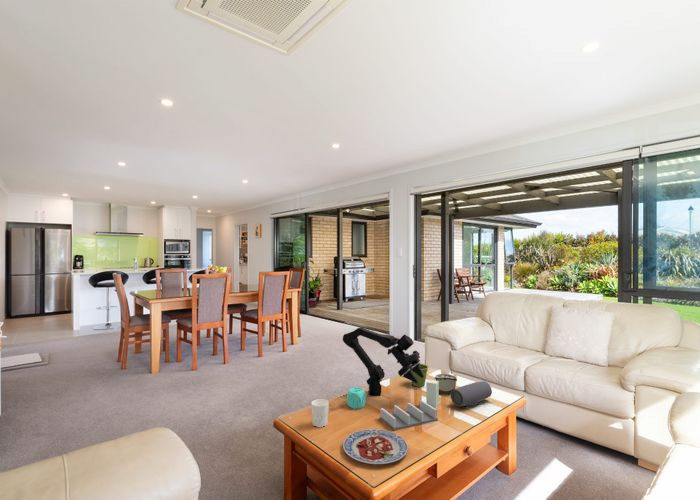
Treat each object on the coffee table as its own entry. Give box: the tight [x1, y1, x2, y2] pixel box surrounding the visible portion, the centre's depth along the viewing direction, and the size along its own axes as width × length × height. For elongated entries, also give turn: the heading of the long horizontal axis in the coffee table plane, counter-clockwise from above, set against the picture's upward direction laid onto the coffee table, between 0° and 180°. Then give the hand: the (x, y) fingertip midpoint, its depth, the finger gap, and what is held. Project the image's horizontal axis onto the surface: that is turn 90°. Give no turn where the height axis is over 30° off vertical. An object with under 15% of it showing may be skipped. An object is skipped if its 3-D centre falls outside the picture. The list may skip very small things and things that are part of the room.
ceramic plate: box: [342, 428, 409, 465], centre depth 142 cm, size 26×26×3 cm
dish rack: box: [379, 399, 439, 432], centre depth 169 cm, size 13×24×5 cm, turn 114°
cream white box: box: [425, 379, 440, 409], centre depth 183 cm, size 4×5×13 cm
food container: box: [434, 373, 458, 397], centre depth 201 cm, size 12×6×10 cm, turn 84°
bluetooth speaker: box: [450, 380, 493, 407], centre depth 187 cm, size 23×9×10 cm, turn 122°
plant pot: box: [410, 363, 429, 388], centre depth 214 cm, size 12×12×11 cm
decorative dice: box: [346, 387, 367, 410], centre depth 184 cm, size 8×8×8 cm
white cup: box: [311, 398, 330, 428], centre depth 164 cm, size 8×8×10 cm
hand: (420, 380), depth 186 cm, fingers open, 9 cm apart
